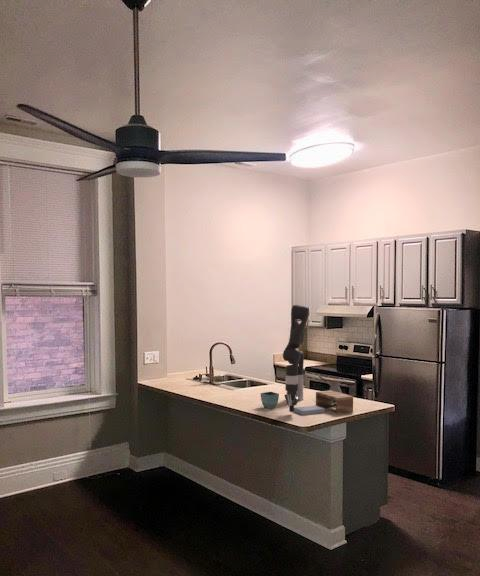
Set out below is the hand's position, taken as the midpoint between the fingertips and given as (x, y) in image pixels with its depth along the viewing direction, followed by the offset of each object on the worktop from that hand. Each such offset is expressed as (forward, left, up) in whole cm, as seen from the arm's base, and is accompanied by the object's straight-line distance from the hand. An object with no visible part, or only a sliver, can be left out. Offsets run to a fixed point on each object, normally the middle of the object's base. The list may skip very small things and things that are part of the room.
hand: (291, 411), depth 299 cm
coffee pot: (-25, +48, -2) cm, 54 cm away
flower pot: (-22, -2, -2) cm, 22 cm away
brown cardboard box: (0, +32, -2) cm, 32 cm away
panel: (0, +13, -2) cm, 13 cm away
